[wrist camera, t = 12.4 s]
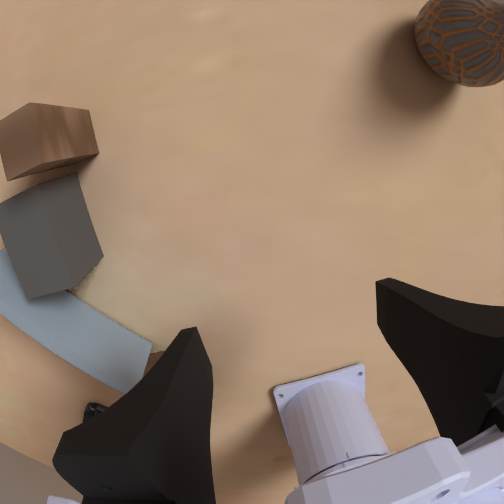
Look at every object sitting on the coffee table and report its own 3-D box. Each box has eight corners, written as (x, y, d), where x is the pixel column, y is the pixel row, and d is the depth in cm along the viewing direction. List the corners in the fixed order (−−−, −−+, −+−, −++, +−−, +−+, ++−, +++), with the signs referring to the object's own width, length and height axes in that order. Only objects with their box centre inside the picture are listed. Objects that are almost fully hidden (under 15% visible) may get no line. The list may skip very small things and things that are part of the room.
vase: (397, 72, 17) (483, 49, 9) (400, -6, 15) (470, -50, 7) (468, 102, 18) (554, 103, 10) (469, 29, 16) (544, 10, 8)
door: (152, 343, 23) (139, 388, 18) (141, 361, 23) (127, 405, 18) (6, 246, 19) (-32, 271, 14) (1, 268, 20) (-34, 295, 15)
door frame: (177, 366, 24) (166, 433, 17) (150, 370, 24) (133, 436, 17) (89, 110, 17) (29, 102, 10) (59, 123, 17) (-6, 124, 10)
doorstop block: (104, 255, 20) (75, 287, 16) (60, 268, 20) (27, 299, 16) (76, 172, 18) (38, 184, 14) (33, 191, 18) (-8, 207, 14)
